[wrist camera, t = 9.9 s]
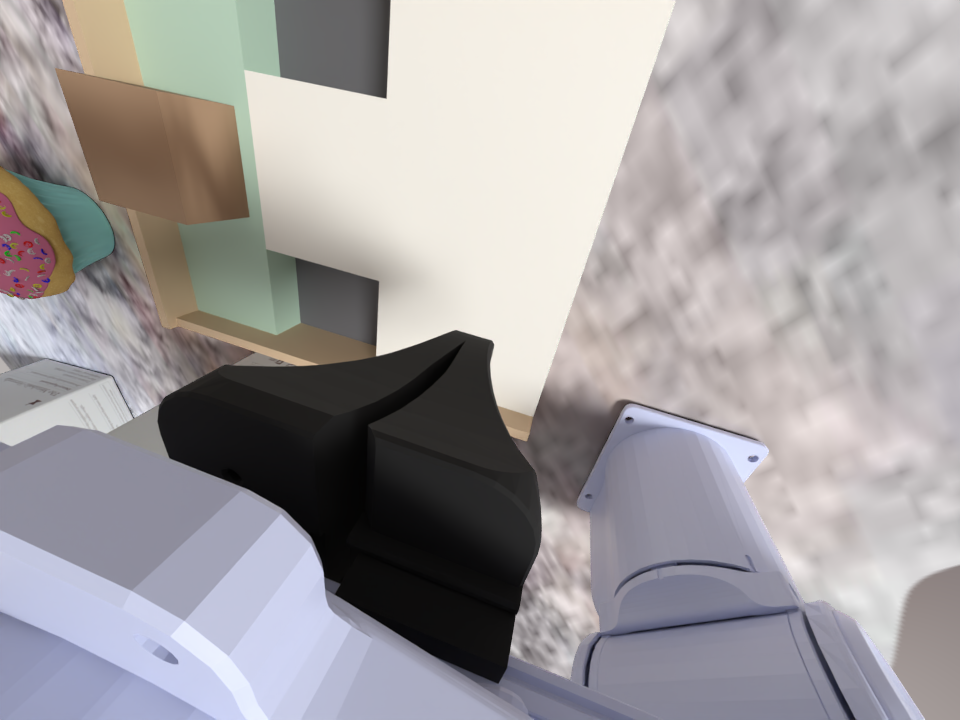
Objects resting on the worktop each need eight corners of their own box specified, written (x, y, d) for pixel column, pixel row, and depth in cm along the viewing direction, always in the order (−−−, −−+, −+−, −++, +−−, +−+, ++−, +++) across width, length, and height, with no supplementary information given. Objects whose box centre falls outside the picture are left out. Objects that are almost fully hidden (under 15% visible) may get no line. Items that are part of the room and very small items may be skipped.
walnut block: (249, 217, 19) (186, 225, 16) (173, 196, 20) (99, 200, 17) (234, 106, 16) (156, 90, 14) (147, 86, 17) (54, 68, 14)
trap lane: (535, 401, 23) (525, 447, 19) (225, 304, 26) (162, 326, 22) (686, -45, 12) (731, -144, 9) (143, -115, 16) (-2, -209, 12)
